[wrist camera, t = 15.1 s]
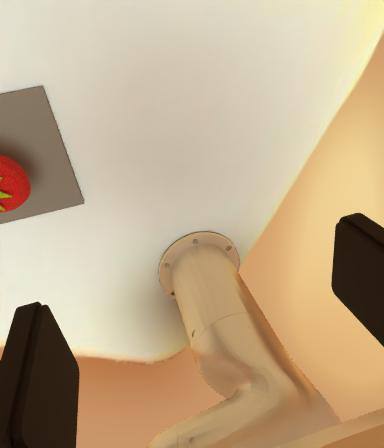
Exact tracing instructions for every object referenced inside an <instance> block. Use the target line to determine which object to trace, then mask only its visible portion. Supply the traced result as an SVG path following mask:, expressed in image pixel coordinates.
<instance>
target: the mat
mask: <svg viewBox="0 0 384 448" xmlns="http://www.w3.org/2000/svg"><path fill="white" fill-rule="evenodd" d="M0 154H2V155H4V156H7V157H9V158H10V159H12V160H14V161H15V162H16V163H18V164H19V165H20V166H21V167H22V168H23V170H24V171H25V172H26V175H27V177H28V179H29V182H30V186H31V192H30V195H29V198H28V199H27V200H26V201H25V202H24V203H23V204H22V205H21V206H19V207H18V208H16V209H14V210H12V211H8V212H2V213H0V224H3V223H7V222H11V221H15V220H19V219H24V218H28V217H32V216H36V215H40V214H44V213H48V212H52V211H56V210H60V209H64V208H69V207H73V206H77V205H81V204H84V200H83V197H82V194H81V192H80V189H79V186H78V183H77V180H76V178H75V175H74V172H73V169H72V166H71V164H70V161H69V158H68V155H67V152H66V150H65V147H64V144H63V141H62V138H61V136H60V133H59V130H58V127H57V124H56V122H55V119H54V116H53V113H52V110H51V108H50V105H49V102H48V99H47V96H46V94H45V91H44V88H43V86H39V87H33V88H28V89H23V90H18V91H13V92H8V93H3V94H0Z"/></svg>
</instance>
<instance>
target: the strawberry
mask: <svg viewBox="0 0 384 448" xmlns="http://www.w3.org/2000/svg"><path fill="white" fill-rule="evenodd" d="M30 192H31V186H30V182H29V179H28V177H27V175H26V172H25V171H24V170H23V168H22V167H21V166H20V165H19V164H18V163H16V162H15V161H14V160H12V159H10V158H9V157H7V156H4V155H2V154H0V213H2V212H8V211H12V210H14V209H16V208H18V207H19V206H21V205H22V204H23V203H24V202H25V201H26V200H27V199H28V198H29V195H30Z"/></svg>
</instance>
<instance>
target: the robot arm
mask: <svg viewBox="0 0 384 448" xmlns="http://www.w3.org/2000/svg"><path fill="white" fill-rule="evenodd" d="M238 270H239V255H238V252H237V250H236V248H235V247H234V246H233V244H232V243H231V242H230V241H229V240H228V239H227V238H225V237H223V236H222V235H219V234H216V233H211V232H199V233H194V234H190V235H188V236H185V237H183V238H181V239H180V240H178V241H176V242H175V243H174V244H173V245H172V246H170V247H169V249H168V250H167V251H166V252H165V254H164V256H163V257H162V259H161V262H160V265H159V279H160V282H161V286H162V287H163V289H164V291H165V292H166V293H167V294H168V295H169V296H170V297H172V298H173V299H175V300H177V303H178V306H179V309H180V312H181V316H182V319H183V322H184V325H185V329H186V332H187V335H188V338H189V342H190V345H191V348H192V351H193V354H194V358H195V361H196V364H197V367H198V370H199V372H200V374H201V375H202V377H203V379H204V380H205V381H206V382H207V383H208V385H209V386H210V387H211V388H213V389H214V390H215V391H216V392H218V393H219V394H221V395H222V396H224V397H225V398H227V399H226V400H224V401H222V402H220V403H219V404H217V405H215V406H213V407H211V408H209V409H207V410H205V411H203V412H200V413H198V414H196V415H194V416H192V417H190V418H188V419H186V420H184V421H182V422H180V423H178V424H176V425H174V426H172V427H170V428H168V429H166V430H164V431H163V432H161V433H160V434H158V435H157V436H156V437H155V438H154V439H153V440H152V441H151V442H150V443H149V445H148V447H147V448H384V408H382V409H379V410H376V411H373V412H371V413H368V414H365V415H362V416H360V417H357V418H354V419H351V420H349V421H346V422H343V423H342V422H341V421H340V419H339V417H338V416H337V414H336V413H335V411H334V410H333V408H332V407H331V406H330V404H329V403H328V402H327V401H326V399H325V398H324V397H323V396H322V395H321V394H320V392H319V391H318V390H317V389H316V388H315V387H314V385H313V384H312V383H311V382H310V381H309V380H308V379H307V377H306V376H305V375H304V374H303V373H302V371H301V370H300V369H299V368H298V366H297V365H296V364H295V362H294V361H293V360H292V358H291V357H290V355H289V354H288V353H287V351H286V350H285V348H284V347H283V345H282V344H281V342H280V341H279V339H278V337H277V336H276V334H275V332H274V331H273V329H272V328H271V326H270V324H269V323H268V321H267V319H266V318H265V316H264V315H263V313H262V311H261V309H260V308H259V306H258V305H257V303H256V301H255V300H254V298H253V296H252V295H251V293H250V292H249V290H248V288H247V287H246V285H245V283H244V282H243V280H242V278H241V277H240V275H239V274H238ZM332 290H333V292H334V294H335V295H336V296H337V297H338V298H339V299H340V301H341V302H342V303H343V304H344V305H345V306H346V307H347V308H348V309H349V310H350V311H351V312H352V313H353V314H354V316H355V317H356V318H357V319H358V320H359V321H360V322H361V323H362V324H363V325H364V326H365V327H366V328H367V329H368V331H369V332H370V333H371V334H372V335H373V336H374V337H375V338H376V339H377V340H378V341H379V342H380V343H381V344H382V345H383V347H384V228H383V227H381V226H380V225H378V224H377V223H375V222H374V221H372V220H371V219H369V218H368V217H366V216H365V215H363V214H361V213H355V214H351V215H348V216H345V217H342V218H341V219H340V221H339V223H337V224H336V229H335V242H334V256H333V271H332ZM78 392H79V367H78V364H77V362H76V359H75V358H74V356H73V354H72V352H71V350H70V348H69V346H68V344H67V342H66V340H65V338H64V336H63V334H62V332H61V330H60V328H59V326H58V324H57V322H56V320H55V318H54V316H53V314H52V312H51V310H50V308H49V307H48V305H43V306H42V305H41V304H40V303H39V302H35V303H31V304H28V305H24V306H21V307H18V308H17V309H16V311H15V314H14V317H13V321H12V324H11V328H10V331H9V334H8V338H7V341H6V344H5V348H4V351H3V355H2V358H1V360H0V448H76V433H77V413H78Z"/></svg>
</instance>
